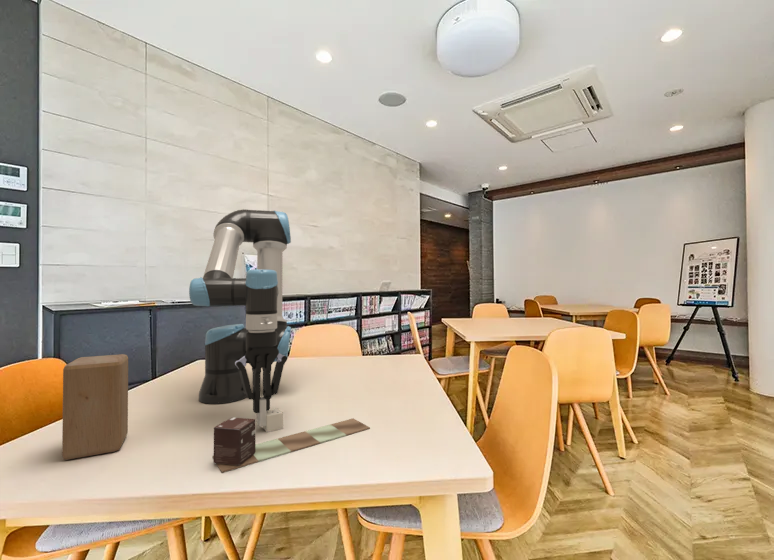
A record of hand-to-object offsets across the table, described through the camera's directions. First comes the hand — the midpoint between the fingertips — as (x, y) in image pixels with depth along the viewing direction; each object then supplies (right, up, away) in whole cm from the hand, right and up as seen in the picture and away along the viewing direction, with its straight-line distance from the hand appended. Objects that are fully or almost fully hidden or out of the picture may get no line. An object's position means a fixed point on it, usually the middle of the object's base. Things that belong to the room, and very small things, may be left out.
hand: (261, 424), depth 90 cm
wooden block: (-34, -2, -9) cm, 35 cm away
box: (0, -1, -15) cm, 15 cm away
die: (+2, -2, +2) cm, 3 cm away
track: (+11, -1, -7) cm, 13 cm away
